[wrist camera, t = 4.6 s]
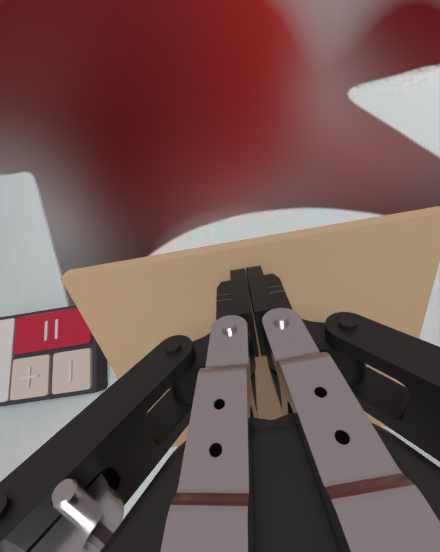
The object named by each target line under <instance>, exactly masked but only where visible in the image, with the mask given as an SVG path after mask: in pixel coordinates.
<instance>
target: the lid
mask: <svg viewBox="0 0 440 552" xmlns="http://www.w3.org/2000/svg"><path fill="white" fill-rule="evenodd" d="M439 261H440V207H439V206H437V207H432V208H426V209H420V210H415V211H408V212H403V213H397V214H391V215H385V216H379V217H374V218H368V219H362V220H356V221H351V222H345V223H339V224H333V225H327V226H322V227H316V228H310V229H304V230H298V231H293V232H287V233H281V234H275V235H269V236H264V237H258V238H252V239H246V240H240V241H235V242H229V243H223V244H217V245H212V246H206V247H200V248H194V249H188V250H183V251H177V252H171V253H165V254H159V255H154V256H148V257H142V258H136V259H131V260H125V261H119V262H113V263H107V264H102V265H96V266H90V267H84V268H79V269H73V270H69V271H67V272H66V273H65V274H64V275H63V276H62V277H61V280H62V282H63V283H64V285H65V287H66V289H67V290H68V292H69V294H70V296H71V297H72V299H73V301H74V303H75V304H76V306H77V308H78V310H79V311H80V313H81V315H82V317H83V318H84V320H85V322H86V324H87V325H88V327H89V329H90V331H91V332H92V334H93V336H94V338H95V339H96V341H97V343H98V345H99V346H100V348H101V350H102V352H103V353H104V355H105V357H106V359H107V360H108V362H109V364H110V366H111V367H112V369H113V371H114V373H115V374H116V376H117V378H118V379H120V378H121V377H122V376H123V375H124V374H125V373H126V372H128V371H129V370H130V369H131V368H132V367H133V366H134V365H136V364H137V363H138V362H139V361H140V360H141V359H143V358H144V357H145V356H146V355H147V354H148V353H149V352H151V351H152V350H153V349H154V348H155V347H156V346H157V345H159V344H160V343H161V342H162V341H163V340H165V339H167V338H169V337H171V336H175V335H184V336H187V337H189V338H190V339H191V341H195V340H197V339H200V338H202V337H204V336H206V335H207V334H209V333H210V332H211V327H212V325H213V323H214V322H215V321H216V302H217V301H216V298H217V287H218V286H219V284H220V283H221V282H223V281H229V280H231V278H230V270H236V269H242V268H245V274H246V279H247V272H246V268H247V267H253V266H259V265H261V268H262V272H263V275H266V274H272V273H273V274H275V275H276V276H277V277H279V278H280V280H281V283H282V286H283V287H284V290H285V292H286V295H287V297H288V300H289V302H290V304H291V307H292V309H293V311H295V312H297V313H298V314H299V316H300V318H302V319H304V320H307V321H313V322H324V323H325V321H326V319H327V317H328V316H330V315H331V314H334V313H337V312H351V313H355V314H358V315H360V316H363V317H365V318H368V319H370V320H373V321H375V322H378V323H380V324H383V325H386V326H388V327H391V328H393V329H396V330H398V331H401V332H403V333H406V334H408V335H411V336H413V337H416V338H418V339H419V336H420V333H421V329H422V325H423V321H424V317H425V314H426V310H427V306H428V302H429V299H430V295H431V291H432V287H433V283H434V280H435V276H436V272H437V268H438V265H439ZM247 285H248V279H247ZM248 290H249V285H248ZM249 296H250V292H249ZM250 301H251V298H250ZM251 307H252V304H251ZM252 312H253V309H252ZM253 319H254V315H253ZM254 325H255V320H254ZM255 331H256V326H255ZM256 338H257V344H258V351H259V357H255V362H256V369H255V372H256V384H257V401H258V417H259V418H261V419H267V420H274V419H277V418H279V417H282V414H281V410H280V407H279V404H278V400H277V397H276V394H275V390H274V387H273V384H272V380H271V377H270V374H269V368H268V361H267V357H266V356H261V353H260V347H259V342H258V336H257V331H256ZM366 366H367V367H369V368H371V369H372V370H374V371H376V372H378V373H380V374H382V375H384V376H386V377H387V378H389V379H391V380H393V381H395V382H397V383H399V384H400V385H402V386H404V385H403V384H402V383H401V382H399V381H397V380H396V379H394V378H392V377H390V376H388V375H386V374H384V373H382V372H381V371H379V370H377V369H375V368H373V367H371V366H369V365H367V364H366ZM404 387H405V386H404ZM168 391H169V389H168V390H167V391H166V392H165V394H166V393H167V392H168ZM165 394H164V395H165ZM164 395H163V396H164ZM163 396H162V397H163ZM162 397H161V398H162ZM161 398H160V399H161ZM160 399H159V400H160ZM159 400H158V401H159ZM158 401H157V402H158ZM157 402H156V403H157ZM156 403H155V404H156ZM155 404H154V405H155ZM154 405H153V406H154ZM153 406H152V407H153ZM152 407H151V408H152ZM151 408H150V409H149V411H150V410H151ZM149 411H148V412H149ZM148 412H147V413H148ZM364 412H365V411H364ZM365 413H366V412H365ZM366 415H367V417H368V418H369V420H370V422H372V423H374V424H376V425H378V426H386V425H384V424H383V423H381V422H380V421H378V420H377V419H375V418H374V417H372V416H371V415H369V414H368V413H366ZM188 428H189V425H188V426H187V427H186V429H185V430H184V431H183V432H182V434H181V435H180V436H179V437H178V439H177V440H176V441H175V442H174V444H173V445H172V446H171V447H175V446H180V445H181V444H182V443H183V442H184V441H186V439H187V433H188Z"/></svg>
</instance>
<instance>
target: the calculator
mask: <svg viewBox="0 0 440 552" xmlns="http://www.w3.org/2000/svg"><path fill="white" fill-rule="evenodd" d="M107 385H108V382H107V359H106V357H105V355H104V353H103V352H102V350H101V348H100V346H99V345H98V343H97V341H96V339H95V338H94V336H93V334H92V332H91V331H90V329H89V327H88V325H87V324H86V322H85V320H84V318H83V317H82V315H81V313H80V311H79V310H78V308H77V306H76V305H75V306H69V307H63V308H56V309H50V310H44V311H38V312H32V313H25V314H19V315H13V316H7V317H0V406H6V405H12V404H19V403H26V402H33V401H40V400H47V399H54V398H61V397H67V396H74V395H81V394H88V393H94V392H98V391H101V390H104V389H106V388H107Z"/></svg>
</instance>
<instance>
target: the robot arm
mask: <svg viewBox="0 0 440 552" xmlns="http://www.w3.org/2000/svg"><path fill="white" fill-rule="evenodd" d="M246 272H247V279H248V285H249V290H248V285H247V279H246V274H245V268H242V269H236V270H230V278H231V280H229V281H223V282H221V283H220V284H219V286H218V287H217V298H216V301H217V302H216V321H215V322H214V323H213V325H212V327H211V332H210V333H209V334H207V335H206V336H204V337H202V338H200V339H197V340H195V341H191V339H190V338H189V337H187V336H184V335H175V336H171V337H169V338H167V339H165V340H163V341H162V342H161V343H160V344H159V345H157V346H156V347H155V348H154V349H153V350H152V351H151V352H149V353H148V354H147V355H146V356H145V357H144V358H143V359H141V360H140V361H139V362H138V363H137V364H136V365H134V366H133V367H132V368H131V369H130V370H129V371H128V372H126V373H125V374H124V375H123V376H122V377H121V378H120V379H118V380H117V381H116V382H115V383H114V384H113V385H111V386H110V387H109V388H108V389H107V390H106V391H105V392H103V393H102V394H101V395H100V396H99V397H98V398H97V399H95V400H94V401H93V402H92V403H91V404H90V405H88V406H87V407H86V408H85V409H84V410H83V411H82V412H80V413H79V414H78V415H77V416H76V417H75V418H74V419H72V420H71V421H70V422H69V423H68V424H67V425H65V426H64V427H63V428H62V429H61V430H60V431H59V432H57V433H56V434H55V435H54V436H53V437H52V438H51V439H49V440H48V441H47V442H46V443H45V444H44V445H42V446H41V447H40V448H39V449H38V450H37V451H36V452H34V453H33V454H32V455H31V456H30V457H29V458H28V459H26V460H25V461H24V462H23V463H22V464H21V465H19V466H18V467H17V468H16V469H15V470H14V471H13V472H11V473H10V474H9V475H8V476H7V477H6V478H5V479H3V480H2V481H1V482H0V552H440V467H438V466H437V465H435V464H434V463H433V462H431V461H430V460H428V459H427V458H425V457H424V456H423V455H421V454H420V453H418V452H417V451H416V450H414V449H413V448H411V447H410V446H409V445H407V444H406V443H404V442H403V441H402V440H400V439H399V438H397V437H396V436H395V435H393V434H392V433H390V432H389V431H387V430H385V429H383V428H382V427H380V426H378V425H376V424H374V423H372V422H370V420H369V418H368V417H367V415H366V413H368V414H369V415H371V416H372V417H374V418H375V419H377V420H378V421H380V422H381V423H383V424H384V425H386V426H387V427H389V428H390V429H392V430H393V431H395V432H396V433H398V434H399V435H401V436H402V437H404V438H405V439H407V440H408V441H410V442H411V443H413V444H414V445H416V446H417V447H419V448H420V449H422V450H423V451H425V452H426V453H428V454H429V455H431V456H432V457H434V458H435V459H437V460H438V461H440V347H438V346H436V345H433V344H431V343H428V342H426V341H423V340H421V339H418V338H416V337H413V336H411V335H408V334H406V333H403V332H401V331H398V330H396V329H393V328H391V327H388V326H386V325H383V324H380V323H378V322H375V321H373V320H370V319H368V318H365V317H363V316H360V315H358V314H355V313H351V312H337V313H334V314H331V315H330V316H328V317H327V319H326V321H325V323H324V322H313V321H307V320H304V319H302V318H300V316H299V314H298V313H297V312H295V311H293V309H292V307H291V304H290V302H289V300H288V297H287V295H286V292H285V290H284V287H283V286H282V283H281V280H280V278H279V277H277V276H276V275H275V274H273V273H272V274H266V275H263V272H262V268H261V265H259V266H253V267H247V268H246ZM249 292H250V296H249ZM250 298H251V301H250ZM251 304H252V307H251ZM252 309H253V312H252ZM253 315H254V319H253ZM254 320H255V325H254ZM255 326H256V331H257V336H258V342H259V347H260V353H261V356H266V357H267V361H268V368H269V374H270V377H271V380H272V384H273V387H274V390H275V394H276V397H277V400H278V404H279V407H280V410H281V414H282V417H279V418H277V419H274V420H267V419H261V418H259V417H258V401H257V384H256V372H255V369H256V362H255V357H259V351H258V344H257V338H256V331H255ZM366 364H367V365H369V366H371V367H373V368H375V369H377V370H379V371H381V372H382V373H384V374H386V375H388V376H390V377H392V378H394V379H396V380H397V381H399V382H401V383H402V384H403V385H404V386H405V387H404V386H402V385H400V384H399V383H397V382H395V381H393V380H391V379H389V378H387V377H386V376H384V375H382V374H380V373H378V372H376V371H374V370H372V369H371V368H369V367H367V366H366ZM168 389H169V391H168V392H167V393H166V394H165V392H166V391H167V390H168ZM164 394H165V395H164ZM163 395H164V396H163ZM162 396H163V397H162ZM161 397H162V398H161ZM160 398H161V399H160ZM159 399H160V400H159ZM158 400H159V401H158ZM157 401H158V402H157ZM156 402H157V403H156ZM155 403H156V404H155ZM154 404H155V405H154ZM153 405H154V406H153ZM152 406H153V407H152ZM151 407H152V408H151ZM150 408H151V410H150V411H149V409H150ZM148 411H149V412H148ZM364 411H365V412H366V413H365V412H364ZM147 412H148V413H147ZM188 425H189V428H188V433H187V439H186V441H184V442H183V443H182V444H181V445H180V446H179V447H178V448H177V449H176V450H175V451H174V452H173V453H172V455H171V456H170V457H169V458H168V460H167V461H166V462H165V464H164V465H163V467H162V468H161V469H160V471H159V472H158V473H157V475H156V476H155V477H154V479H153V480H152V482H151V483H150V484H149V486H148V487H147V488H146V490H145V491H144V492H143V494H142V495H141V496H140V498H139V499H138V501H137V502H136V503H135V505H134V506H133V507H132V509H131V510H130V511H129V513H128V514H127V515H126V517H125V518H124V520H123V514H124V505H125V504H126V503H127V501H128V500H129V499H130V498H131V496H132V495H133V494H134V493H135V491H136V490H137V489H138V488H139V486H140V485H141V484H142V483H143V481H144V480H145V479H146V478H147V476H148V475H149V474H150V473H151V471H152V470H153V469H154V468H155V466H156V465H157V464H158V462H159V461H160V460H161V459H162V457H163V456H164V455H165V454H166V452H167V451H168V450H169V449H170V447H171V446H172V445H173V444H174V442H175V441H176V440H177V439H178V437H179V436H180V435H181V434H182V432H183V431H184V430H185V429H186V427H187V426H188ZM122 520H123V521H122Z"/></svg>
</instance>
